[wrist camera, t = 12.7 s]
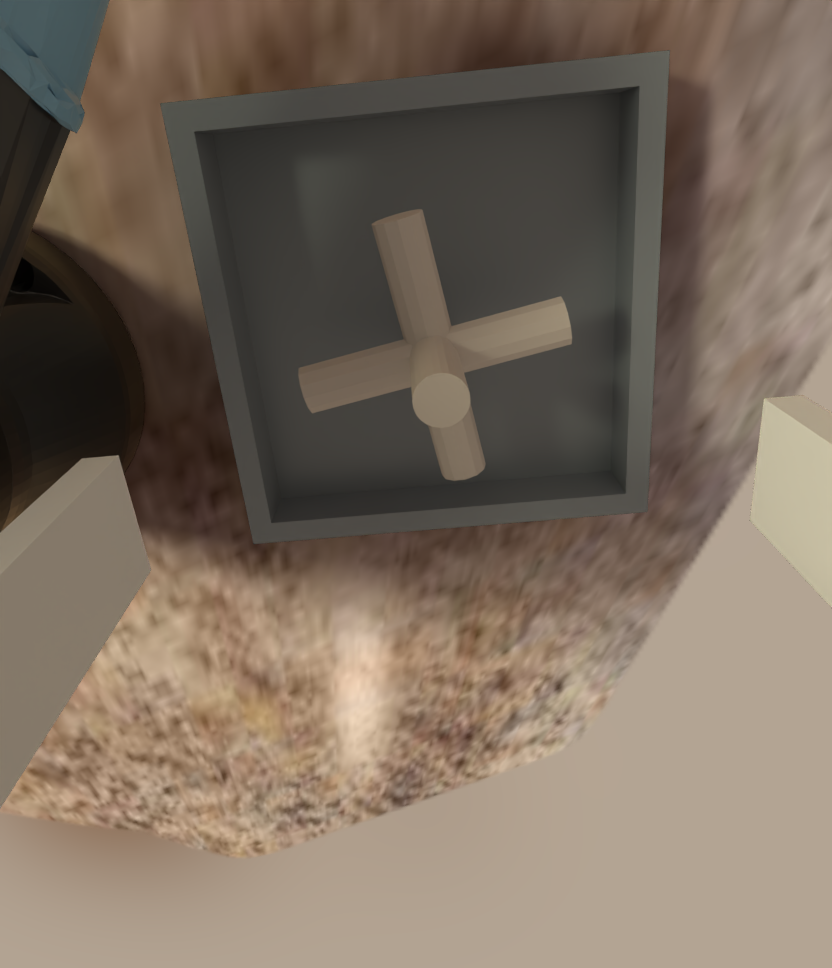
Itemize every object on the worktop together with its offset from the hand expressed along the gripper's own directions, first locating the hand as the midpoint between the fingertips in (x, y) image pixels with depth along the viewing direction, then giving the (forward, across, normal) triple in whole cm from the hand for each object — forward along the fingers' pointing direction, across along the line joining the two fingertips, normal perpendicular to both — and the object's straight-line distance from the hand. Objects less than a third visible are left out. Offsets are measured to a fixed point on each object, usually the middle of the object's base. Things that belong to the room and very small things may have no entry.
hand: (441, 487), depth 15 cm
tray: (+19, 0, 0) cm, 19 cm away
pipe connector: (+18, 0, 0) cm, 18 cm away
